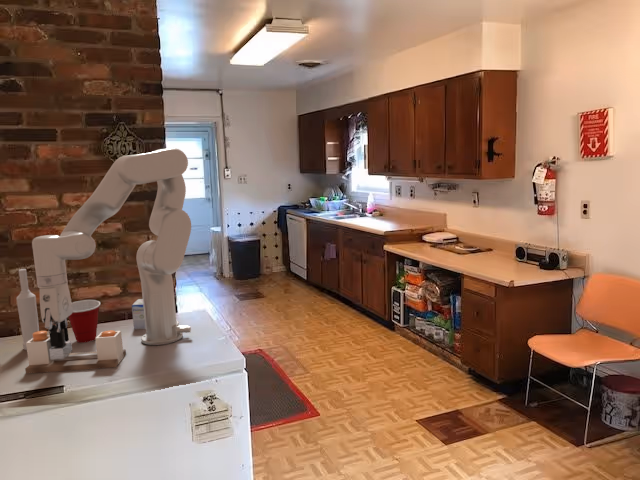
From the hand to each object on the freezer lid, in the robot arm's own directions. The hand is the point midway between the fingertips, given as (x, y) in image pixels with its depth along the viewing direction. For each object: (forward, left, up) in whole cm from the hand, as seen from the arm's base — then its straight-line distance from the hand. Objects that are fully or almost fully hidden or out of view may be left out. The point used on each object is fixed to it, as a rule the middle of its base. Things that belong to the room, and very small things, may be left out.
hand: (60, 343), depth 148 cm
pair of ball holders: (-4, 0, -6) cm, 8 cm away
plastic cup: (+1, -21, -7) cm, 22 cm away
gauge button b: (+5, 0, +1) cm, 5 cm away
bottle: (+16, -17, -7) cm, 24 cm away
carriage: (0, 0, -4) cm, 4 cm away
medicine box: (-14, -33, -7) cm, 37 cm away
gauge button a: (-13, 0, 0) cm, 13 cm away
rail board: (-4, 0, -6) cm, 8 cm away
